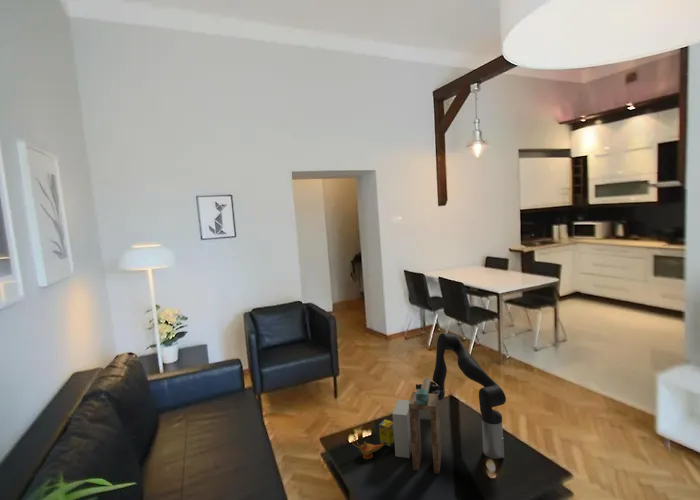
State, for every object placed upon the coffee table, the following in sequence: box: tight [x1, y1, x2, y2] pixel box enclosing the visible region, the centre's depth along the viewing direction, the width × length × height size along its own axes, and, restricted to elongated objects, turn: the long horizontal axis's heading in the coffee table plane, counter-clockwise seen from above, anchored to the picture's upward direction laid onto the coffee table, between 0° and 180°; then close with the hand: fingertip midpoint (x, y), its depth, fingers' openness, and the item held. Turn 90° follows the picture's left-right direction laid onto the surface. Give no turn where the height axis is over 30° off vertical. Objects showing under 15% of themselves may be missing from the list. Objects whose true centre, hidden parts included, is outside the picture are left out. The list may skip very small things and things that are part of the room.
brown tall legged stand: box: [409, 391, 442, 474], centre depth 176 cm, size 12×12×32 cm
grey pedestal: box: [392, 399, 412, 459], centre depth 190 cm, size 7×14×22 cm, turn 162°
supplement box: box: [378, 419, 395, 448], centre depth 196 cm, size 6×6×11 cm
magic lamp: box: [351, 434, 388, 460], centre depth 186 cm, size 7×18×11 cm, turn 83°
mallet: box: [415, 377, 432, 405], centre depth 180 cm, size 5×22×5 cm, turn 162°
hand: (428, 386), depth 191 cm, fingers open, 8 cm apart
